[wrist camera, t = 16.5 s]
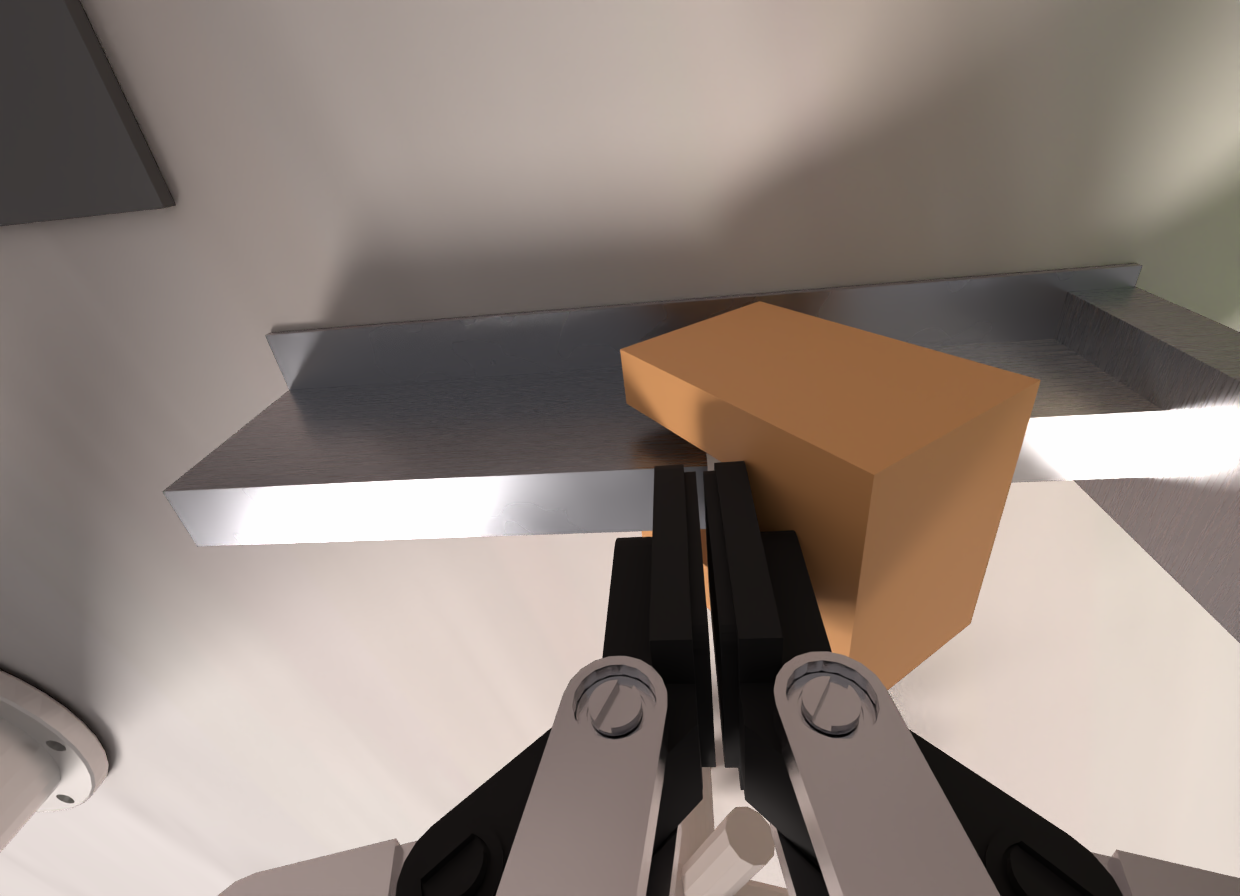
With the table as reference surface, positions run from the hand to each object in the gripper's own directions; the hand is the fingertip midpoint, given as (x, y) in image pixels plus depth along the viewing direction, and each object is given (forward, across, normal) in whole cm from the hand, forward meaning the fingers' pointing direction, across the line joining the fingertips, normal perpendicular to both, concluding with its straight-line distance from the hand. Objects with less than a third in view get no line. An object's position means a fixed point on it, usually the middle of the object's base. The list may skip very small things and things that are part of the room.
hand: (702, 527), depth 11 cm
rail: (+6, +1, 0) cm, 6 cm away
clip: (+4, 0, 0) cm, 4 cm away
